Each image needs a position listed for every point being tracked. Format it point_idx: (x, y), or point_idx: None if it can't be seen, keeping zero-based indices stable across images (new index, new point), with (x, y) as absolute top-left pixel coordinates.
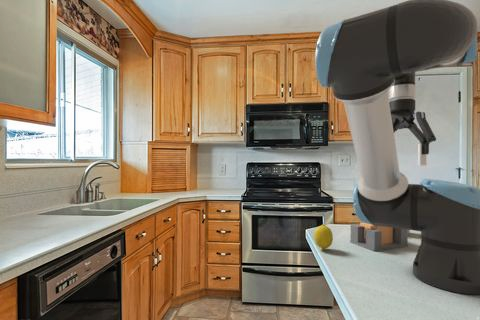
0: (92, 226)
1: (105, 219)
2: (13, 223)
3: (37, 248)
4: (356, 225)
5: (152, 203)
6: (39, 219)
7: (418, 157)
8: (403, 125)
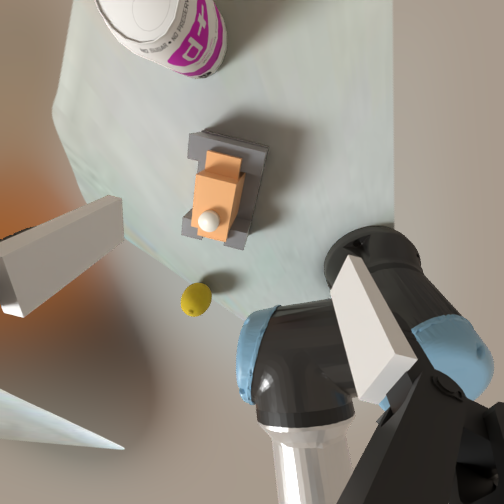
0: (13, 402)
1: None
2: None
3: (90, 437)
4: (191, 230)
5: None
6: None
7: (340, 321)
8: None
